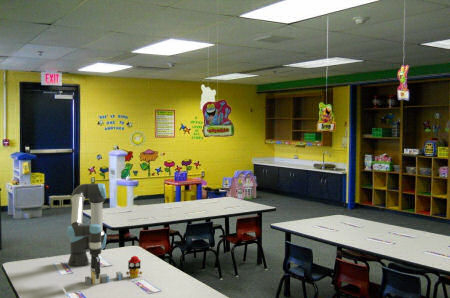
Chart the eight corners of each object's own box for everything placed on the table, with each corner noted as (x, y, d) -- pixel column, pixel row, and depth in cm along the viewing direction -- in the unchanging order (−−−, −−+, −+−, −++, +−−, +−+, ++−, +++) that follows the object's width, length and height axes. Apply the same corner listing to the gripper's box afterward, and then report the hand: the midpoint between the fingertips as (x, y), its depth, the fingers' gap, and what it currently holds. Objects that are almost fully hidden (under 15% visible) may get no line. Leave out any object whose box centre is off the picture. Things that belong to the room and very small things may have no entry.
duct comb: (85, 284, 301) (85, 276, 301) (120, 278, 313) (120, 271, 313) (87, 287, 296) (87, 279, 295) (122, 281, 308) (122, 274, 308)
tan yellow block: (90, 282, 303) (90, 268, 302) (98, 280, 305) (98, 267, 305) (92, 284, 298) (92, 271, 298) (100, 283, 301) (100, 269, 300)
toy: (126, 279, 312) (126, 258, 311) (125, 275, 320) (125, 254, 320) (142, 278, 315) (142, 257, 314) (141, 274, 323) (141, 253, 323)
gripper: (85, 245, 308) (86, 277, 309) (93, 252, 290) (93, 287, 291) (96, 243, 312) (97, 276, 313) (105, 250, 294) (105, 285, 295)
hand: (95, 281), depth 302 cm, fingers open, 8 cm apart
